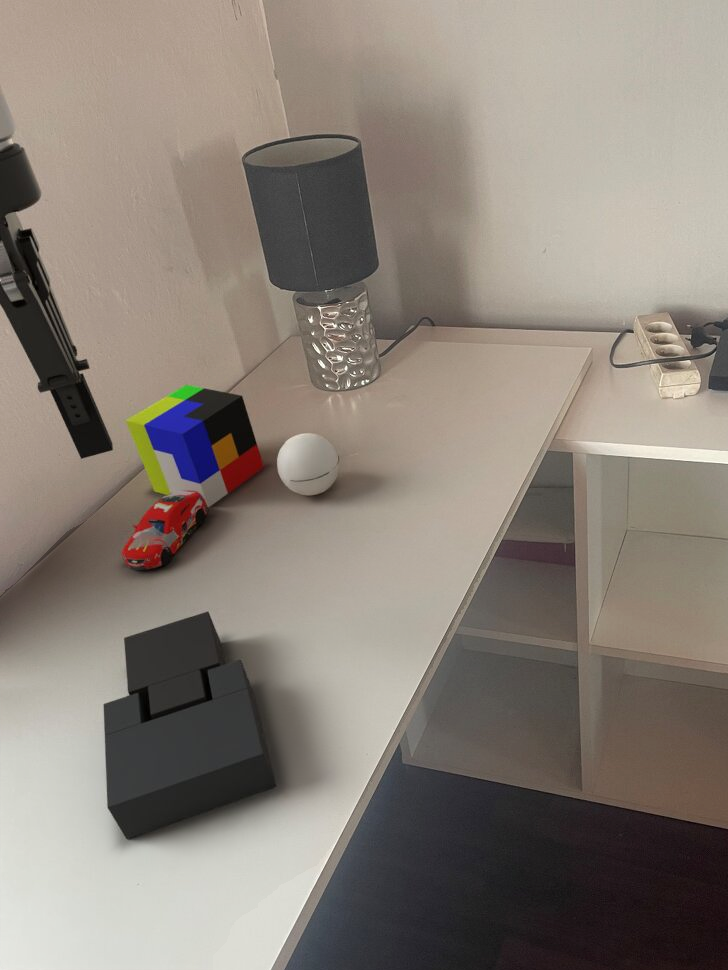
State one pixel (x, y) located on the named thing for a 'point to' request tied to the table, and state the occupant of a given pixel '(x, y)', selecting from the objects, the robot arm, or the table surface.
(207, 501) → the puzzle toy
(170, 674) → the tongue pad
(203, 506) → the race car
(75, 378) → the robot arm
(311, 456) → the white sphere
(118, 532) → the table surface
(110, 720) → the notch pad
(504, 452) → the table surface
